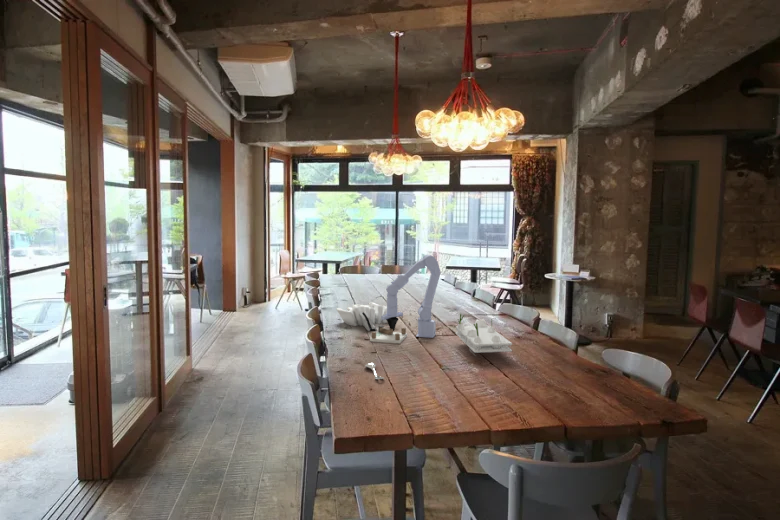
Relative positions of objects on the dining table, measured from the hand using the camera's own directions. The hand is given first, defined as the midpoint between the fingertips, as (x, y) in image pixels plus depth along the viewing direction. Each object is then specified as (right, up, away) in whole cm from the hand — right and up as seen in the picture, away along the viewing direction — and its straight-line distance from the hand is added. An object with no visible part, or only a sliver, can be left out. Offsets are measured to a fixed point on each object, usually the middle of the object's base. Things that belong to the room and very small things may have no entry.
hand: (392, 331), depth 254 cm
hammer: (-4, -1, +1) cm, 4 cm away
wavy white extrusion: (-16, 0, +35) cm, 39 cm away
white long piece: (-7, -9, -61) cm, 62 cm away
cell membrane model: (+41, -6, -28) cm, 50 cm away
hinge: (-15, -1, +20) cm, 25 cm away
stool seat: (-2, -3, -5) cm, 6 cm away
